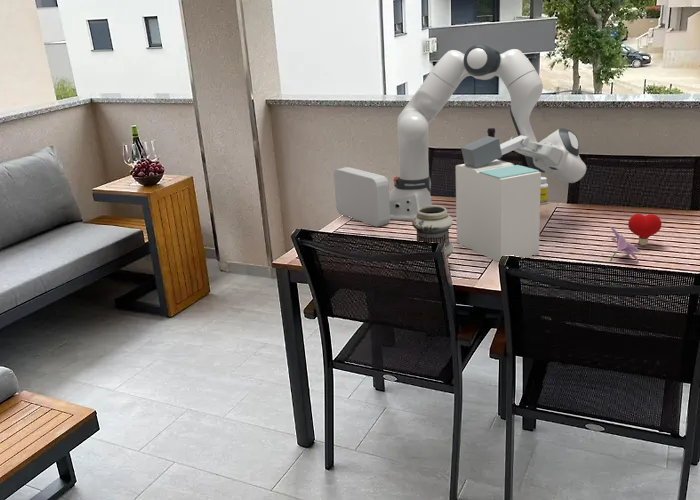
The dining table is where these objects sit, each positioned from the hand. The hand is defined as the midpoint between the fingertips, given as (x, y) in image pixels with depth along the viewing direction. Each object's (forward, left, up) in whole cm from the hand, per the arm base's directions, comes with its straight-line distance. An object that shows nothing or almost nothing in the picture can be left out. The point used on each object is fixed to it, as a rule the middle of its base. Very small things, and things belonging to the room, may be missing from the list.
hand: (517, 140), depth 210 cm
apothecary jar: (-28, -26, -32) cm, 50 cm away
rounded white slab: (-54, +27, -32) cm, 68 cm away
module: (-6, -4, -3) cm, 8 cm away
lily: (+27, -25, -32) cm, 49 cm away
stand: (-8, -11, -32) cm, 35 cm away
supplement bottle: (+14, +40, -32) cm, 53 cm away
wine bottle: (-5, +37, -32) cm, 49 cm away
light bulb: (+36, -13, -32) cm, 50 cm away
